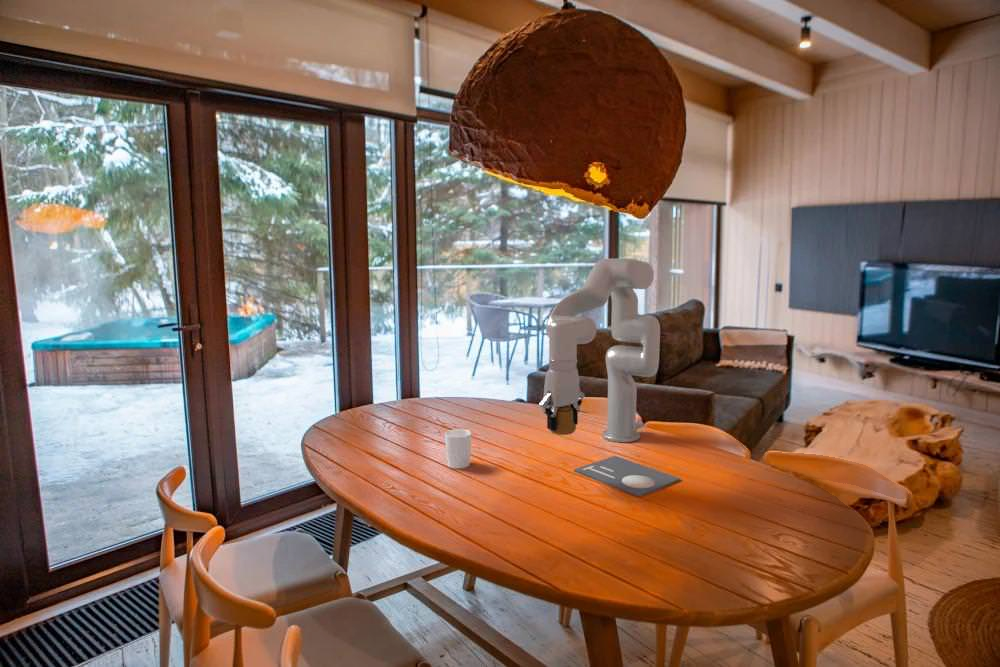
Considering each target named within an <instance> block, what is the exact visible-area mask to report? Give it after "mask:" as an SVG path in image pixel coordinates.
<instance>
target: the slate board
mask: <svg viewBox="0 0 1000 667" xmlns="http://www.w3.org/2000/svg"><path fill="white" fill-rule="evenodd" d="M573 472H575V473H577V474H579V475H582V476H585V477H587V478H590V479H592V480H595V481H597V482H600V483H602V484H605V485H608V486H609V487H612V488H615V489H617V490H620V491H623V492H624V493H627V494H630V495H632V496H634V497H637V498H641V497H644V496H646V495H649V494H650V493H653V492H656V491H658V490H660V489H664V488H665V487H668V486H671V485H673V484H675V483H678V482H680V481H681V477H677V476H675V475H671V474H669V473H667V472H666V473H665V472H663V471H660V470H657V469H654V468H652V467H648V466H646V465H643V464H640V463H637V462H633V461H631V460H628V459H626V458H623V457H619V456H618V455H613V456H611V457H610V456H609V457H607V458H603V459H601V460H598V461H594V462H592V463H588V464H586V465H582V466H580V467H576V468H574V469H573ZM670 484H671V485H670Z"/></svg>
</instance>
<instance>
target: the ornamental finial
mask: <svg viewBox="0 0 1000 667" xmlns="http://www.w3.org/2000/svg"><path fill="white" fill-rule="evenodd" d="M552 410H553V408H552V409H551V411H552ZM555 417H557V430H556V431H553V430H550V429H549V430H550V432H551V433H552V434H555V435H558V436H567V435H571V434H574V433H575V431H576V429H577V425H575V423H574V422H573V409H572V408H571V407H570V406H569V405H567V406H563V407H558V409H557V412H556V414H555Z"/></svg>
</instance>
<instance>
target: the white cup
mask: <svg viewBox="0 0 1000 667" xmlns="http://www.w3.org/2000/svg"><path fill="white" fill-rule="evenodd" d="M444 441H445V442H444V443H445V452H446V454H445V455H446V459H447V467H449V468H451V469H455V470H461V469H466V468H468V467H469V466H470V465H471V463H470V462H471V459H470V458H471V453H472V452H471V447H472V432H471V430H468V429H462V428H459V429H458V428H455V429H450V430H447V431H446V432H444Z"/></svg>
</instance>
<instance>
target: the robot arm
mask: <svg viewBox="0 0 1000 667" xmlns="http://www.w3.org/2000/svg"><path fill="white" fill-rule="evenodd" d="M654 276H655V274H654V269H653V267H652V265H651V264H650V263H649V262H646V261H642V260H639V259H634V258H633V259H632V258H602V259H599V260H597V261H596V262H595V263H594V265H593V266H592V268H591V270H590V272H589V273H588V275H587V278H586V279H585V281H584V283H583V284H582V286H581V288H580V289H578V290H576V291H574V292H573V293H571V294H569V295H567V296H566V297H564V298H562V299H561V300H560V301H559V302H558V303H557V304H556V305H555V306H554V308H553V309H552V312H551V313H550V315H549V317H548V319H547V322H546V325H545V332H546V335H547V337H548V347H549V348H548V352H549V353H548V370H547V371H546V374H545V378H544V387H543V388H544V389H543V399H542V400H540V402H539V407H540V408H541V410H542V411H543V413H544V414H545V416H546V417H547V418H546V420H547V421H546V424H547V425H546V427H547V428H546V429H548V430H553V431H556V430H557V417H555V414H556V412H557V409H558V407H563V406H567V405H569V406H570V407H571V408H572V409H573V422H574V423H575V425H576V426H577V425H578V423H579V422H578V421H579V420H578V419H579V418H578V415H579V414H578V412H579V411H580V406H581V405H582V403H583V400H584V398H585V393H584V392H582V391H581V388H580V377H579V371H578V368H577V363H578V361H579V360H578V359H577V355H578V354H577V352H578V351H577V347H578V346H577V345H585V344H589V343H590V342H592V341H593V340H594V339H595V338H596V336H597V335H596V334H597V332H598V331H597V324H596V322H595V321H594V320H593V319H592V318H589V317H586V316H578V315H580V314H584V313H588V312H592V311H594V310H598V309H600V308H602V307H603V306H605V305H606V303H607V302H608V300H609V298H610V297H611V320H610V321H611V323H610V326H611V327H610V330H611V331H610V332H611V336H612V338H613V339H614V340H615V341H618V342H622V343H633V344H641V345H642V346H641V347H639V346H633V345H620V344H619V345H613V346H611V347H610V348H609V349H608V350H607V351H606V354H605V366H606V372H607V420H606V422H607V424H606V425H607V428H606V429H604V431H603V432H602V437H603V438H604V439H605V440H608V441H612V442H615V443H616V442H617V443H632V442H636V441H638V440H639V439H640V438H641V434H640V432H638V429H641V428H643V427H644V422H643V421H639V422H637V383H636V382H635V380H634V378H633V377H632V376H636V377H645V378H650V377H654V376H656V374H657V372H658V370H659V364H660V346H661V344H660V343H661V326H660V325H661V324H660V321H659V320H658V318H657V317H655V316H654V315H651V314H642V313H641V314H640V313H639V298H638V296H637V293H636V291H635V290H646V289H649V287H651V285H652V284H653V281H654ZM552 409H553V410H552Z"/></svg>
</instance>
